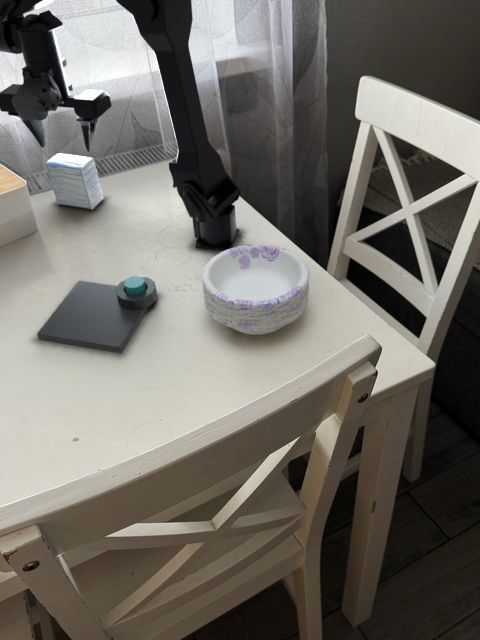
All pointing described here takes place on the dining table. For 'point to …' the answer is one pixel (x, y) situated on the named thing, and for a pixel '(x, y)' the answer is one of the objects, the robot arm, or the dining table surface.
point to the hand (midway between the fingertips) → (66, 148)
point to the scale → (98, 316)
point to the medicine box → (75, 180)
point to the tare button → (135, 285)
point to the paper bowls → (256, 288)
